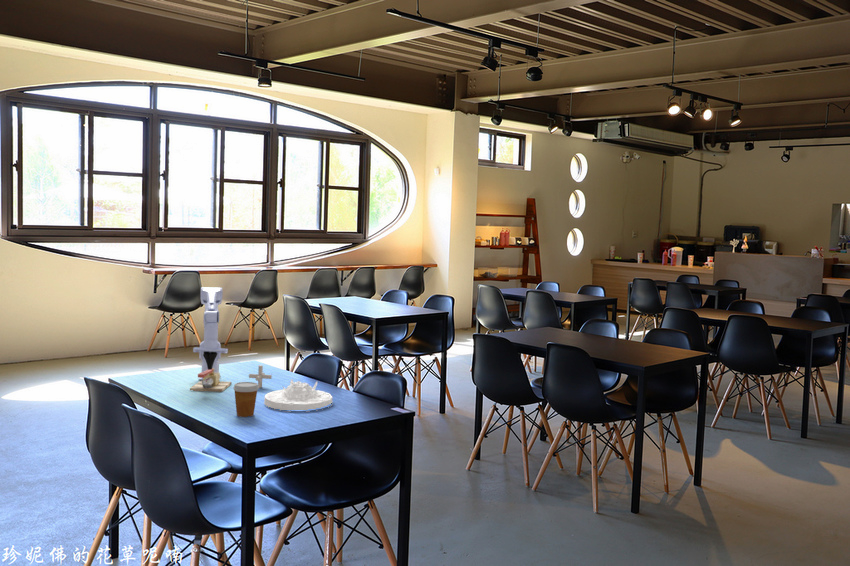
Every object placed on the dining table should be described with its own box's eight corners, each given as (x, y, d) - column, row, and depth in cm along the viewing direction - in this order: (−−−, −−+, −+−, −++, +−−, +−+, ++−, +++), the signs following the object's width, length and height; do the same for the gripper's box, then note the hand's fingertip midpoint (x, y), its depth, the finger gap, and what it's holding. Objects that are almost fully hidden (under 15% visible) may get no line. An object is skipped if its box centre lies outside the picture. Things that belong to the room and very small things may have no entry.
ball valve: (210, 382, 325) (210, 368, 325) (222, 382, 325) (222, 368, 325) (199, 389, 309) (199, 374, 309) (212, 390, 309) (212, 375, 309)
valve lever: (209, 370, 318) (209, 367, 318) (215, 371, 318) (215, 367, 318) (197, 377, 303) (197, 374, 303) (203, 377, 303) (203, 374, 303)
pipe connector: (268, 390, 317) (268, 368, 316) (246, 389, 317) (246, 367, 316) (273, 385, 327) (274, 364, 326) (252, 384, 327) (252, 363, 326)
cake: (277, 415, 276) (278, 391, 276) (255, 399, 300) (256, 377, 300) (343, 409, 290) (343, 386, 290) (317, 394, 314) (318, 373, 314)
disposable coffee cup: (232, 418, 267) (233, 387, 266) (232, 412, 276) (233, 381, 275) (258, 417, 270) (259, 386, 269) (257, 411, 279) (258, 381, 278)
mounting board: (200, 383, 325) (200, 380, 325) (231, 384, 326) (231, 381, 325) (189, 390, 309) (189, 387, 309) (221, 391, 310) (222, 389, 309)
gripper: (191, 338, 304) (190, 370, 305) (225, 340, 304) (224, 371, 305) (196, 336, 311) (195, 367, 312) (229, 338, 311) (228, 368, 312)
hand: (210, 369), depth 309 cm, fingers closed
